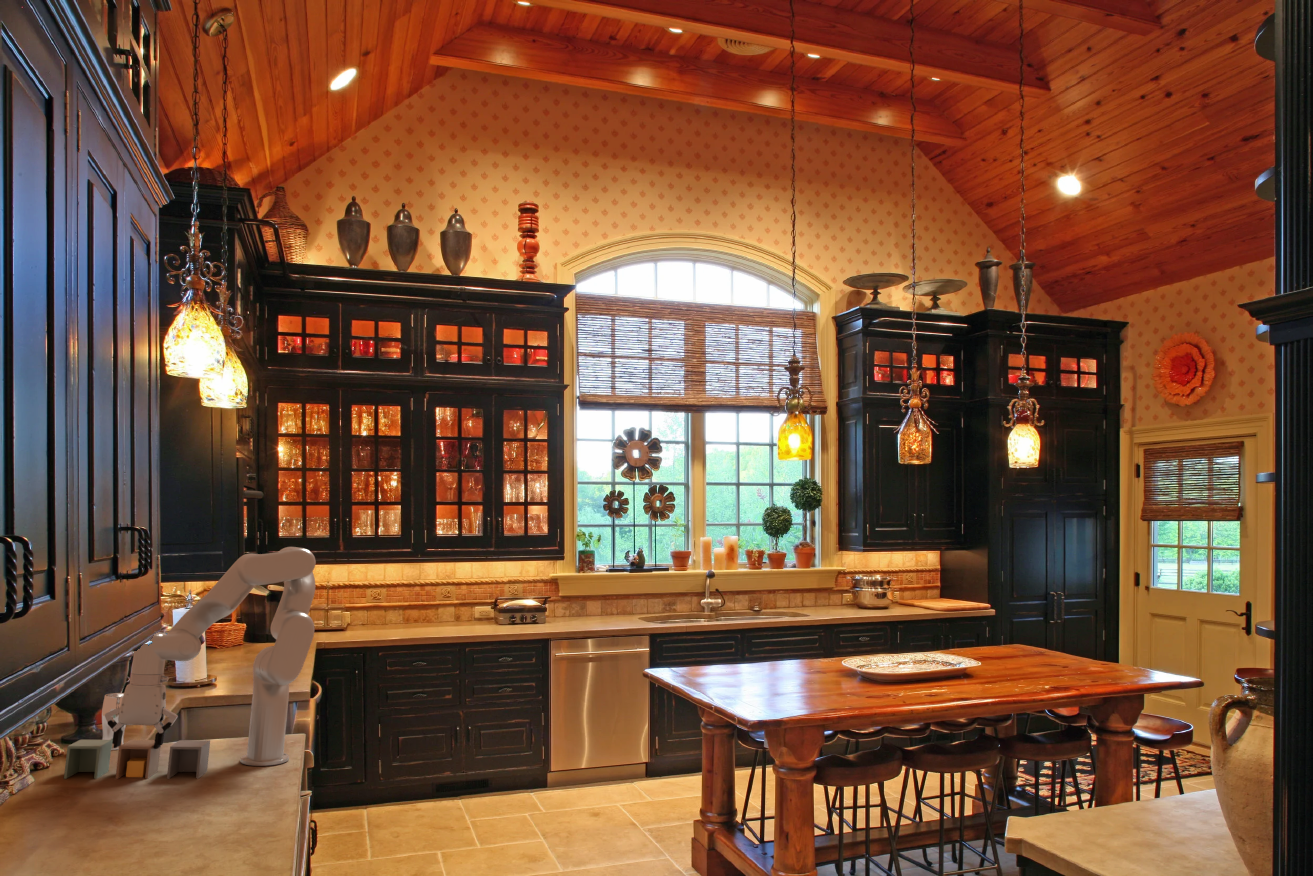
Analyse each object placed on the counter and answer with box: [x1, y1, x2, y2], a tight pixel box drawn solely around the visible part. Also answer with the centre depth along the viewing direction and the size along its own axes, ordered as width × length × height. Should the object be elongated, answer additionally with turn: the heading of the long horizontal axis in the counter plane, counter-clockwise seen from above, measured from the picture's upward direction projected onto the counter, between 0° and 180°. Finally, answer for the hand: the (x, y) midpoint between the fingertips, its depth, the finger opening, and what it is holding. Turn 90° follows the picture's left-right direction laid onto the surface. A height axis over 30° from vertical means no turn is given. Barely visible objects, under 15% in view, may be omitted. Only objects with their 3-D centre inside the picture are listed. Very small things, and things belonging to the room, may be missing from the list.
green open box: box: [63, 739, 112, 780], centre depth 235 cm, size 8×8×8 cm
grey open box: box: [166, 739, 211, 780], centre depth 239 cm, size 8×8×8 cm
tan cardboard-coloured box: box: [115, 739, 162, 780], centre depth 237 cm, size 8×8×8 cm
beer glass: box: [101, 692, 127, 751], centre depth 264 cm, size 7×7×15 cm
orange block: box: [125, 758, 147, 778], centre depth 237 cm, size 4×4×4 cm
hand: (137, 747), depth 237 cm, fingers open, 9 cm apart
